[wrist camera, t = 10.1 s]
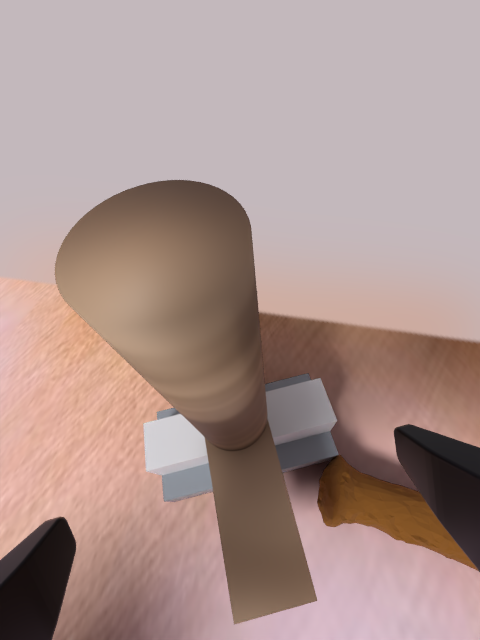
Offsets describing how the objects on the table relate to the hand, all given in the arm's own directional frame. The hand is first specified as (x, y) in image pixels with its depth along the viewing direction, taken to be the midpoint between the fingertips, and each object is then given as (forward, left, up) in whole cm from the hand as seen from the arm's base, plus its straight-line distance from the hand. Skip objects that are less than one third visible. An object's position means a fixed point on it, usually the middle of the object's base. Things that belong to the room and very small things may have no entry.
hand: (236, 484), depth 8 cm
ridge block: (+3, +2, -12) cm, 12 cm away
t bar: (+3, +2, -7) cm, 8 cm away
